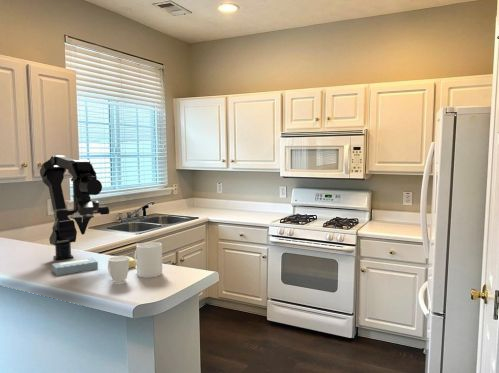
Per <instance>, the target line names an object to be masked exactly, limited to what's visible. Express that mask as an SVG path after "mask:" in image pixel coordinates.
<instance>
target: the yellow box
mask: <svg viewBox="0 0 499 373" xmlns="http://www.w3.org/2000/svg"><path fill="white" fill-rule="evenodd" d="M128 257H129V258H130V260H129V268H128V269H130V268H137V266H136V263H135V258H133V257H131V256H128Z"/></svg>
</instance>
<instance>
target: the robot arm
mask: <svg viewBox="0 0 499 373" xmlns="http://www.w3.org/2000/svg"><path fill="white" fill-rule="evenodd" d="M67 170H68V171H67ZM66 172H68V173H69V174H70V175H71V176H72V177H71V178H70V182H72V198H73V200H72V201H73V209H72V210H71V209H69V210H68V209H67V206H66V201H65V197H64V192H63V188H62V183H63V181H64V179H65V176H64V175H65V173H66ZM39 175H40V177H41V180H42V182H43V183H44V184H45V185H46V187H47V188H48V190H49V196H50V201H51V202H50V203H51V205H52V209H53V211H52V212H53V217H54V220H55V221H54V223H53V225H52V232H51V234H50V236H49V238H48V239H49V243H50V244H49V245H53V246H54V247H55V249H54V250H55V255H53V258H54V259H55V260H56V261H59V260H60V261H61V260H66V259H73V258H74V256H73V254H72V249H71V245H72V244H71V243H76V241H77V236H78V231H77V228H76V225H77V227H78V229H79V231H80V234H81V235H85V233H86V231H87V227H88V225H89V222H90V221H91V219H93V218H95V216H94V214H100V215H101V216H102V215H110V207H108V206H106V205H100V203H99V201H98V200H93V201H92V200H91V195H92V196H97V195H99V194H100V193H101V192H102V190H103V185H102V183H101V181H100V180H99V179H98V178H97V177H98V176H97V172H96V171H95V168H94V167H93V164H92V163H91V161H90V160H88V159H86V160H85V159H84V160H83V159H79V160H78V159H74V158H72V157H71V158H70V157H67V156H66V155H63V154H62V155H58V154H57V155H51V156H50V158H49V159H48V160H46V161H45V162H43V163H42V165H41V167H40V168H39ZM69 216H70V218H69ZM75 223H76V224H75Z"/></svg>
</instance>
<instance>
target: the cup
mask: <svg viewBox="0 0 499 373" xmlns="http://www.w3.org/2000/svg"><path fill="white" fill-rule="evenodd" d="M129 257H130V256H129V255H128V256H127V255H117V256H111V257H109V258H107V260H108V262H107V270H108V271H107V272H108V273H109V276H110V278H111V279H112V284H113V285H123V284H125V283H127V278H128V273H129V269H130V268H129V260H130V258H129Z"/></svg>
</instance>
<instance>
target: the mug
mask: <svg viewBox="0 0 499 373" xmlns="http://www.w3.org/2000/svg"><path fill="white" fill-rule="evenodd" d="M135 248H136V249H135V251H134V255H133V256H134V258H133V259H135V263H136V274H137V276H138V277H139V278H143V279H152V278H156V277H157V278H158V277H159V276H161V275H162V274H163V245H162V243H161V242H158V241H157V242H156V241H148V242H142V243H138V244H136V247H135Z"/></svg>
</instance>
